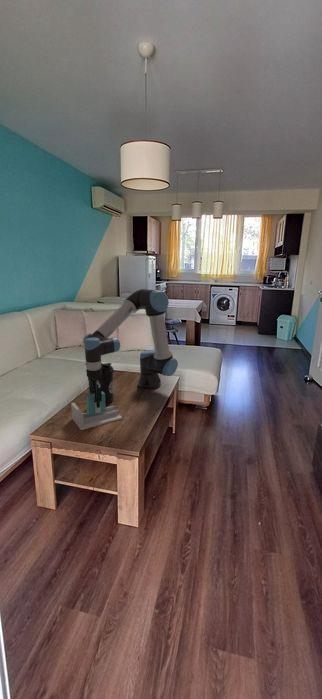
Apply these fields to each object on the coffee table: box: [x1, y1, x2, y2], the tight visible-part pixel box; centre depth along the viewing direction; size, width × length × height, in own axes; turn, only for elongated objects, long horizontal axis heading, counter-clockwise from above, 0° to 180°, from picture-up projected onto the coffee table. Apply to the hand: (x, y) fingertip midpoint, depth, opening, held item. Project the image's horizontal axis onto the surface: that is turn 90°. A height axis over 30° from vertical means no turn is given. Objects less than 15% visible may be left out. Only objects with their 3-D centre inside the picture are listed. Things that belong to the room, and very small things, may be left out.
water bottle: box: [99, 362, 115, 405], centre depth 191 cm, size 10×10×23 cm
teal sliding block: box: [85, 392, 107, 416], centre depth 170 cm, size 9×4×10 cm, turn 122°
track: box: [70, 402, 123, 431], centre depth 171 cm, size 22×14×9 cm, turn 122°
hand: (96, 410), depth 171 cm, fingers closed on teal sliding block, 3 cm apart
